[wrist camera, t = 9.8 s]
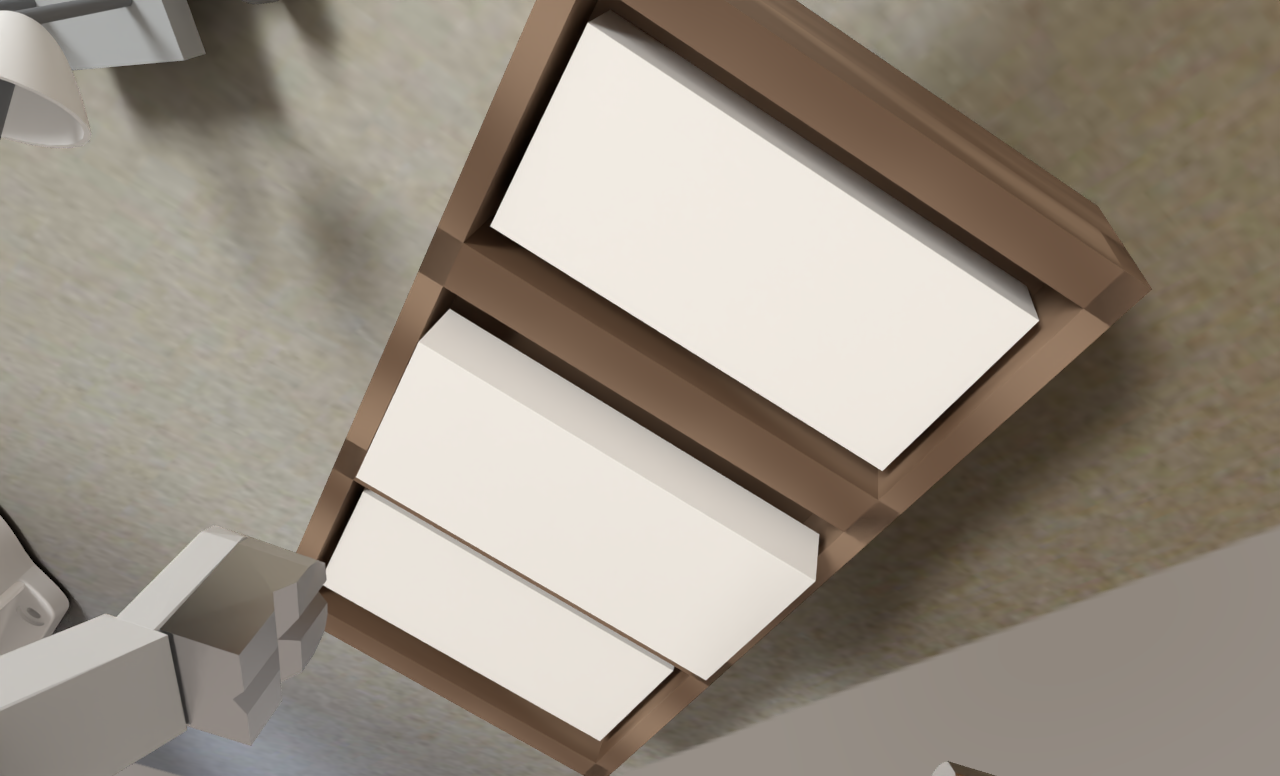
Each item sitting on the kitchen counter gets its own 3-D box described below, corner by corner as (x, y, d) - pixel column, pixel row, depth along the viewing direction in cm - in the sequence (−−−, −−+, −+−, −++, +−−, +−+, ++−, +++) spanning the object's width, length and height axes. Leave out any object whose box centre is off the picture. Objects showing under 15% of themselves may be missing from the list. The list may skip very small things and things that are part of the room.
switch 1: (881, 431, 25) (882, 470, 24) (516, 201, 24) (490, 226, 22) (1026, 286, 22) (1039, 320, 20) (610, 9, 21) (587, 22, 19)
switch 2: (715, 633, 29) (705, 680, 27) (386, 440, 27) (355, 477, 26) (819, 534, 25) (815, 580, 24) (449, 308, 24) (418, 341, 22)
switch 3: (612, 700, 36) (599, 741, 34) (345, 548, 34) (319, 582, 33) (683, 629, 32) (673, 670, 31) (390, 457, 31) (363, 491, 29)
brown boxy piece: (635, 681, 39) (605, 787, 35) (345, 514, 38) (274, 603, 33) (1106, 212, 24) (1162, 296, 19) (638, -108, 22) (578, -99, 18)
